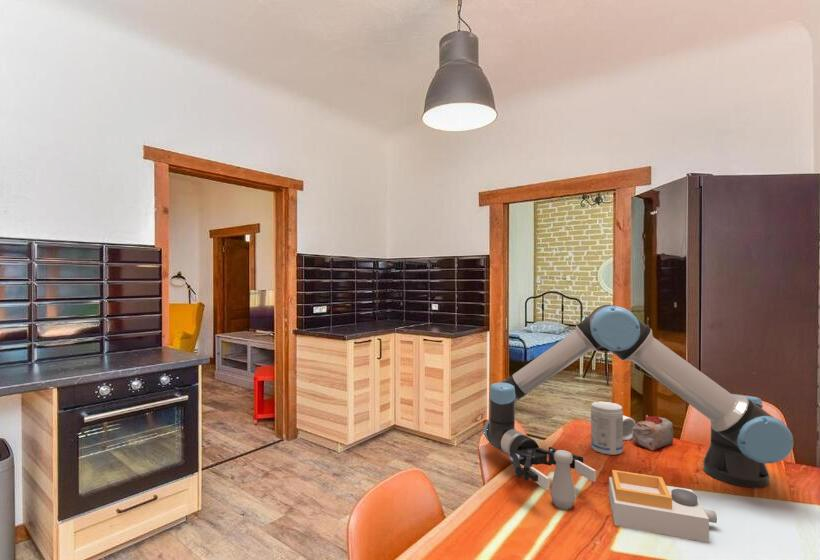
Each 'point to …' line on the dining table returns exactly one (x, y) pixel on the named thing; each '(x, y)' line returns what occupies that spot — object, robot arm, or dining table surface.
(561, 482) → the salt shaker
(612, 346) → the robot arm
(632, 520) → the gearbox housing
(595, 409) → the supplement tub
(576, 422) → the dining table surface
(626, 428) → the mug
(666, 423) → the food item
